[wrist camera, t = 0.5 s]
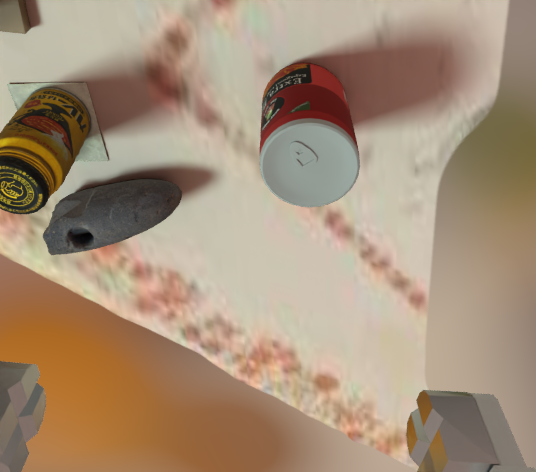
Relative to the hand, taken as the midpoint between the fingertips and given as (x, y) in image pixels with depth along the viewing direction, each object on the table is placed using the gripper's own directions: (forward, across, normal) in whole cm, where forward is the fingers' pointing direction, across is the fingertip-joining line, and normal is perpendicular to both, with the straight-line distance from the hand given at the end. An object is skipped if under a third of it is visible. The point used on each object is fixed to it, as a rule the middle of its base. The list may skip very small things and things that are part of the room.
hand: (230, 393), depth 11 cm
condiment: (+39, +19, +12) cm, 45 cm away
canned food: (+38, -4, +8) cm, 40 cm away
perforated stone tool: (+40, +14, +20) cm, 47 cm away
